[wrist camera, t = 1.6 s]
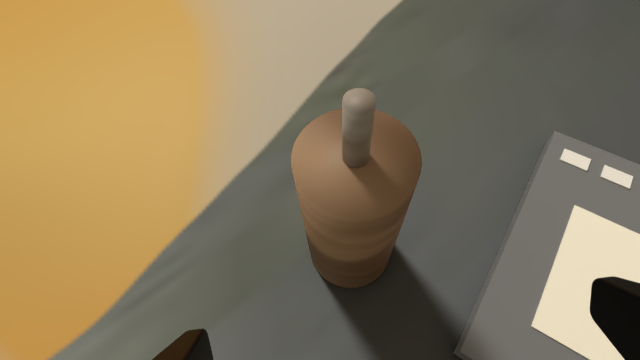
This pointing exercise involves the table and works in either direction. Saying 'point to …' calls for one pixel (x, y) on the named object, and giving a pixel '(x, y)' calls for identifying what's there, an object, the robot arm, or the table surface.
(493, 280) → the grey flat block
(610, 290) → the robot arm
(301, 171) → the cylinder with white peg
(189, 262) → the table surface
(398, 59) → the table surface
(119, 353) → the table surface
